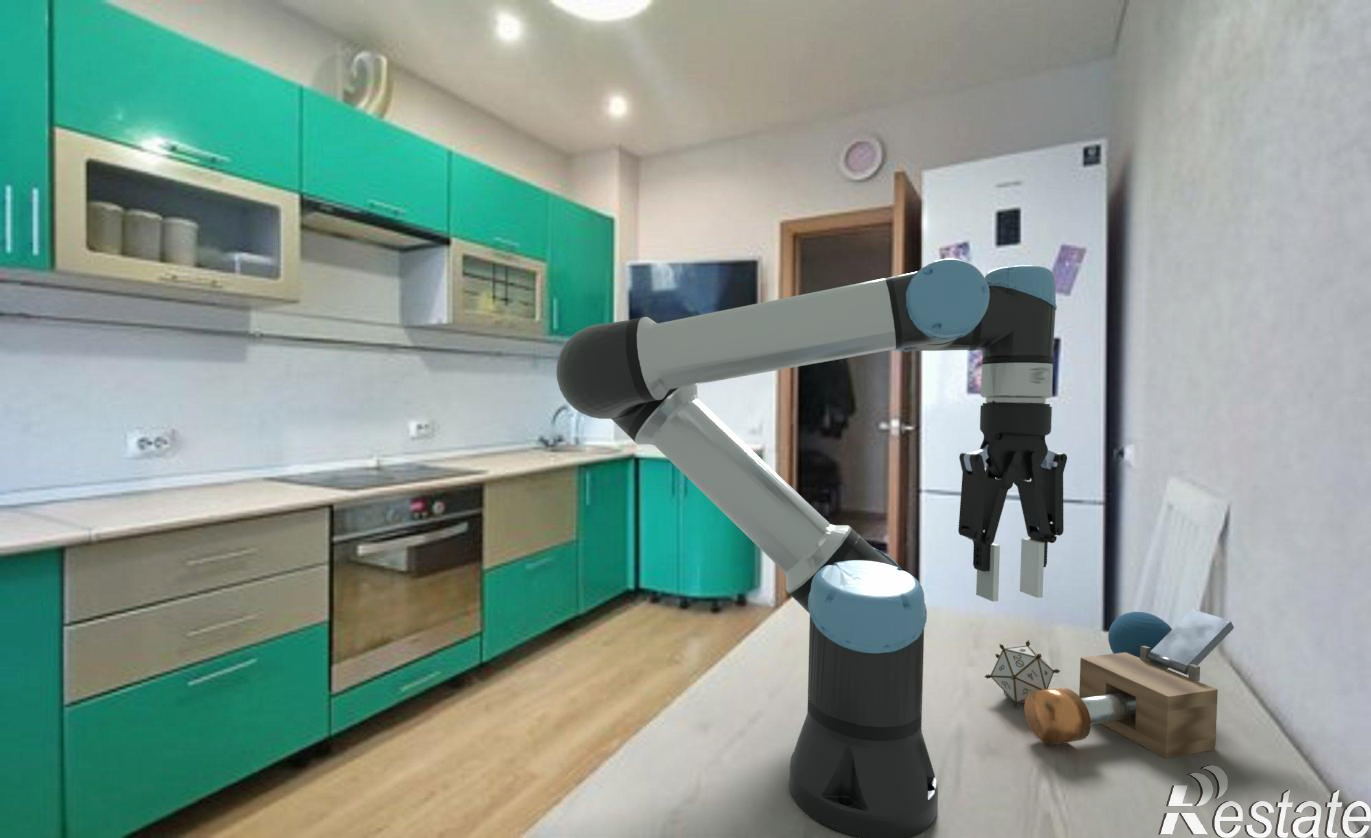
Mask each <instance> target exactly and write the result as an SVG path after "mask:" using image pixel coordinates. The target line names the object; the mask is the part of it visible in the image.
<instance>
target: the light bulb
mask: <svg viewBox="0 0 1371 838" xmlns="http://www.w3.org/2000/svg"><path fill="white" fill-rule="evenodd" d="M1172 629H1173V628H1172V627H1171V626H1170V625H1169V624H1168V623H1167V622H1166V621H1165V620H1164V619H1162V618H1160V617H1158V616H1157V615H1154V614H1152V613H1148V612H1146V611H1132V612H1127V613H1123V614H1122V615H1121V614H1120V616H1117V618H1115V619H1114V620H1113V621H1112V623H1111V625H1110V627H1109V629H1108V635H1107V638H1108V639H1107V640H1108V645H1109V646H1110V650H1111V652H1112V654H1116V653H1125V652H1126V653H1129V654H1131V655H1134V656H1136V657H1139V658H1140V649H1141V646H1147V647H1150V648H1151V650H1152V649H1153V648H1154V647H1155V646H1156V645H1157V644H1158V643H1159V642H1160V641H1161V640H1162V639H1163V638H1164V637H1165V636H1166V635H1167V634H1168V633H1169V632H1170V631H1171V630H1172ZM1149 662H1151V663H1153V664H1156V665H1158V666H1161V667H1163V668H1166V669H1168V670H1169V668H1168V667H1166V666H1163V665H1161V664H1158V663H1156V662H1153V661H1151V660H1150V661H1149Z"/></svg>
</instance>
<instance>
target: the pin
mask: <svg viewBox="0 0 1371 838" xmlns="http://www.w3.org/2000/svg"><path fill="white" fill-rule="evenodd" d="M1023 707H1024V715H1025V719H1026V721H1027V724H1028V726H1029V728H1030V730H1031V732H1033V734H1034V735H1035V737H1037V738H1038V740H1040V741H1041V742H1043V743H1045V744H1047V745H1050V746H1051V745H1058V744H1059V745H1060V744H1066V743H1070V742H1078V741H1083V740H1085V739H1086V738H1087V737H1089V735H1090V732H1091V728H1092V727H1091V726H1092V725H1094V724H1096V725H1097V724H1101V723H1103V722H1109V721H1116V720H1122V719H1128V718H1135V717H1136V697H1135V696H1133V695H1131V694H1129V693H1127V692H1122V693H1115V694H1108V695H1100V696H1093V697H1086V698H1080V697H1079V694H1077V693H1076V692H1075V691H1073V690H1072V689H1070V688H1068V687H1054V688H1048V689H1046V690H1038V691H1033V692H1031V693H1029V694H1028V696H1027V697H1026V700H1025V702H1024V706H1023Z"/></svg>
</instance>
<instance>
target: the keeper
mask: <svg viewBox="0 0 1371 838" xmlns="http://www.w3.org/2000/svg"><path fill="white" fill-rule="evenodd" d="M1234 629H1235V626H1234V624H1233V622H1232V620H1230V619H1225V618H1222V617H1219V616H1217V615H1212V614H1210V613H1205V612H1203V611H1199V610H1196V609H1191V610H1190V611H1189V612H1188V613H1187V614H1186V615H1185V616H1184V617H1183V618H1182V619H1181V620H1180V621H1179V622H1178V623H1177V624H1176V625H1175V626H1174V627H1173V628H1172V630H1171V631H1170V632H1169V633H1168V634H1167V635H1166V636H1165V637H1164V638H1163V639H1162V640H1161V641H1160V642H1159V643H1158V644H1157V645H1156V646H1155V647H1154V648H1153V649H1152V650H1151V651H1150V652H1149V654H1148V659H1149V660H1151V661H1153V662H1156V663H1158V664H1161V665H1163V666H1166V667H1168V669H1170V670H1172V671H1175V672H1177V673H1178V672H1179V673H1181V674H1182V675H1183V674H1184V675H1185V676H1188V675H1189V665H1191V664H1194V665H1197V666H1199V665H1200V664H1201V663H1202V662H1203V661H1204V659H1206V657H1208V655H1210V653H1211V652H1213V651H1214V649H1216V647H1217V646H1218V645H1220V643H1221V642H1222V641H1223V640H1225V638H1226V637H1227V636H1228V635H1229V634H1230V633H1231V632H1232V631H1233V630H1234Z"/></svg>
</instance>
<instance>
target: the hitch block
mask: <svg viewBox="0 0 1371 838" xmlns="http://www.w3.org/2000/svg"><path fill="white" fill-rule="evenodd" d="M1150 651H1151V648H1150V647H1147V646H1141V649H1140V658H1139V657H1136V656H1134V655H1131V654H1129V653H1126V652H1125V653H1116V654H1113V653H1110V654H1108V653H1107V654H1100V655H1092V656H1084V657H1083V656H1082V657H1080V661H1079V662H1080V667H1079V669H1080V670H1079V693H1078V696H1079V697H1080V698H1086V697H1093V696H1100V695H1108V694H1115V693H1122V692H1127V693H1129V694H1131V695H1133V696H1135V697H1136V717H1135V718H1128V719H1122V720H1116V721H1109V722H1103V723H1100V724H1101V725H1103V726H1105V727H1106V728H1108V729H1111V730H1112V731H1114V732H1116V733H1118V734H1120V735H1122V736H1124V737H1126V739H1129V740H1131V741H1133V742H1135V743H1136V744H1139V745H1140V746H1142V747H1144V748H1146V749H1147V750H1149V751H1152V752H1153V753H1154V754H1157V755H1159V756H1160V757H1162V758H1164V759H1170V758H1175V757H1180V756H1181V757H1182V756H1187V755H1193V754H1197V753H1203V752H1207V751H1208V752H1209V751H1214V750H1216V744H1217V743H1216V741H1217V738H1216V737H1217V716H1218V694H1219V693H1218V691H1219V690H1218V689H1217V688H1215V687H1212V686H1209V685H1208V684H1206V683H1203V682H1200V679H1201V666H1199V665H1198V666H1197V665H1194V664H1191V665H1189V675H1183V674H1182V673H1181V674H1180V673H1178V672H1177V671H1174V670H1172V669H1169V668H1168V669H1166V668H1163V667H1161V666H1158V665H1156V664H1153V663H1151V662H1149V661H1150V660H1149V659H1148V654H1149V652H1150Z"/></svg>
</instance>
